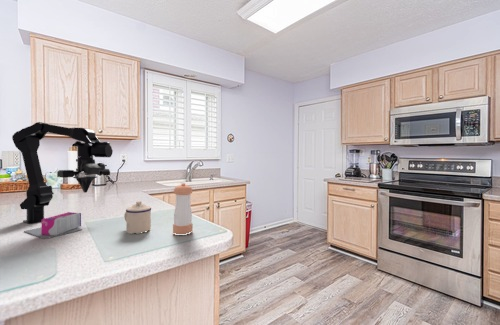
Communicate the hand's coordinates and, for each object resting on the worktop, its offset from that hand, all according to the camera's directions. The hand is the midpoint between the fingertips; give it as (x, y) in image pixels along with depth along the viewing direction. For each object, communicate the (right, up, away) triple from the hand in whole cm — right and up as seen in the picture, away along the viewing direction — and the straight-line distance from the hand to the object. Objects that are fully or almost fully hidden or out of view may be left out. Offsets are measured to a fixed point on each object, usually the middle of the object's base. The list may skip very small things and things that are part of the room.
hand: (85, 192), depth 104 cm
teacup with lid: (+27, -14, -10) cm, 32 cm away
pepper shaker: (+47, -14, -13) cm, 50 cm away
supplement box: (+1, -10, -7) cm, 12 cm away
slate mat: (-3, -13, -13) cm, 19 cm away
